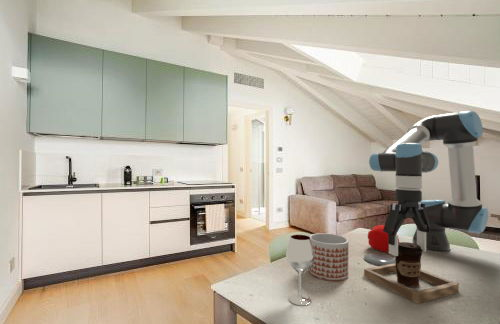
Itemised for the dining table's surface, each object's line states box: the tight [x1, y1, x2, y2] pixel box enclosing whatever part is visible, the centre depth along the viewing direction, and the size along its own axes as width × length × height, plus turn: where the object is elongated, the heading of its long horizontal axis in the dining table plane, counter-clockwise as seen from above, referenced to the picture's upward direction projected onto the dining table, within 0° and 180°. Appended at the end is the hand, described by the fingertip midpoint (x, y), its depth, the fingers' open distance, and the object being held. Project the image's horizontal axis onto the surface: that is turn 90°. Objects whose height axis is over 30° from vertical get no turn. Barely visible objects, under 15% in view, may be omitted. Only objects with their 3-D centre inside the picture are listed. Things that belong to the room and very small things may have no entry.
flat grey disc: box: [363, 253, 396, 266], centre depth 102 cm, size 13×13×1 cm
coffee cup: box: [394, 241, 423, 288], centre depth 82 cm, size 9×8×13 cm
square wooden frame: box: [363, 263, 460, 304], centre depth 82 cm, size 19×19×2 cm
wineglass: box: [285, 234, 315, 307], centre depth 71 cm, size 8×8×18 cm
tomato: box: [367, 224, 400, 253], centre depth 116 cm, size 13×13×13 cm
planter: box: [308, 232, 349, 282], centre depth 90 cm, size 14×14×13 cm
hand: (407, 252), depth 82 cm, fingers open, 13 cm apart
